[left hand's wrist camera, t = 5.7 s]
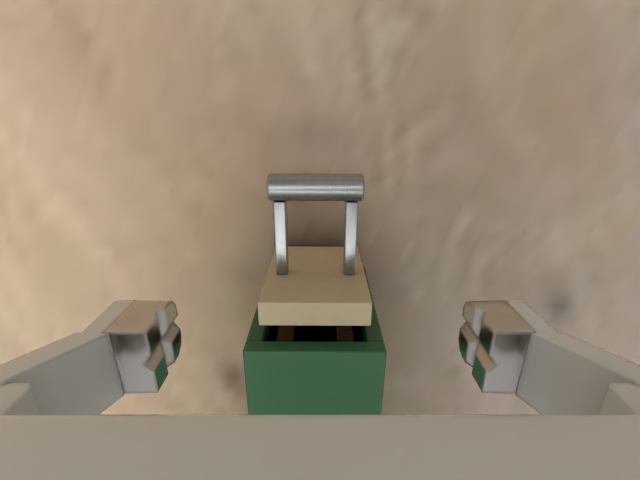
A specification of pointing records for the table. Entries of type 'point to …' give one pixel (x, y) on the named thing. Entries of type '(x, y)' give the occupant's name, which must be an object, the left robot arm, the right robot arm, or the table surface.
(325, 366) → the cabinet
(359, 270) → the drawer
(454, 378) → the table surface
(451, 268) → the table surface
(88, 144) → the table surface
